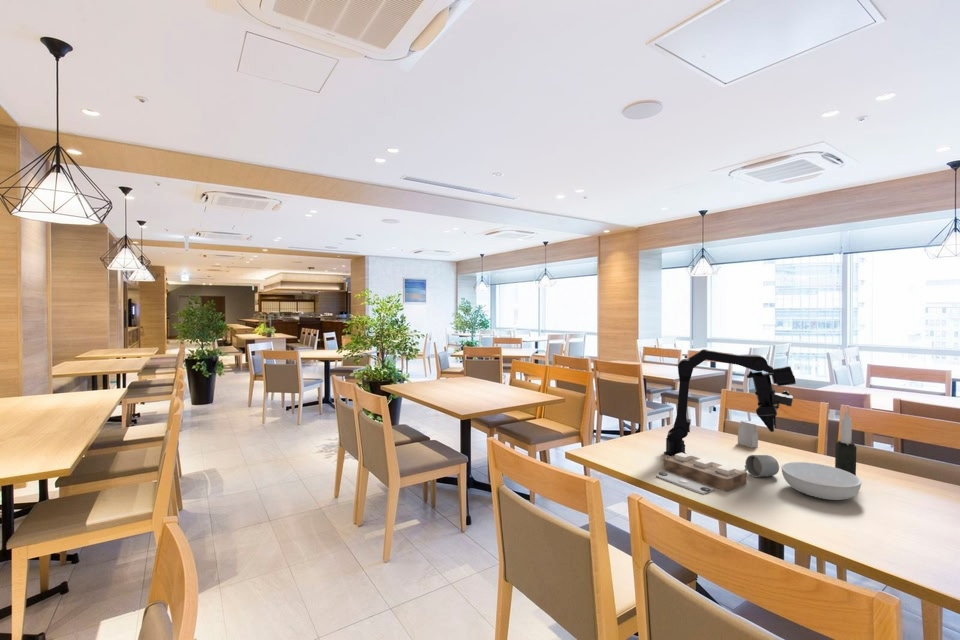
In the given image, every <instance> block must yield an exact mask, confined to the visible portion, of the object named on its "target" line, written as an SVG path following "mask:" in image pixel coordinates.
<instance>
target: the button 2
mask: <svg viewBox="0 0 960 640" xmlns="http://www.w3.org/2000/svg"><path fill="white" fill-rule="evenodd" d="M721 465H722V466H719V467H717V472H718V473H721V474H724V475H727V476H730V475H733V474H734V473H735V469H736V468H734V467H731V466H727V465H724V464H721Z"/></svg>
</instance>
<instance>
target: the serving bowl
mask: <svg viewBox="0 0 960 640" xmlns="http://www.w3.org/2000/svg"><path fill="white" fill-rule="evenodd" d="M781 473H782V476H783V479H784V480H785V482H786V483H787V484H788V485H789V486H791V488H793V489H794V490H797V492H800V493H802V494H805V495H807V496H811V497H813V496H814V498H817V497H818V499H821V498H822V500H830V501H833V500H834V501H842V500H848V499H851V498H853V497H855V496H856V495H857V494H858V493H859V491H860V489H861V486H862V479H861V478H860V477H858V476H857V475H856V476H855V475H854V474H852V473H849V472H847V471H844V470H841V469H838V468H835V466H832V465H831V466H830V465H825V464H821V463H813V462H808V461H807V462H805V461H791V462H786V463H783V464H781Z"/></svg>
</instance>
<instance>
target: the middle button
mask: <svg viewBox="0 0 960 640" xmlns="http://www.w3.org/2000/svg"><path fill="white" fill-rule="evenodd" d="M712 462H713V461H711V460H708V459H703V458H701V459H698V460H695V465H696V466H699V467H702V468H705V469H707V468H710V467H712Z"/></svg>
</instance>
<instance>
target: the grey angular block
mask: <svg viewBox="0 0 960 640" xmlns="http://www.w3.org/2000/svg"><path fill="white" fill-rule="evenodd" d="M737 444H738V445H740V446H744V445H745V446H744V447H747V446H749V447H748V448H750V447H751V449H754V448H753V447H755V448H758V447H759V432H758V428H757V425H756V423H755V424H754V423H751V422H747V421H743V420H741V421H740V423H739V426H738V430H737Z"/></svg>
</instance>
